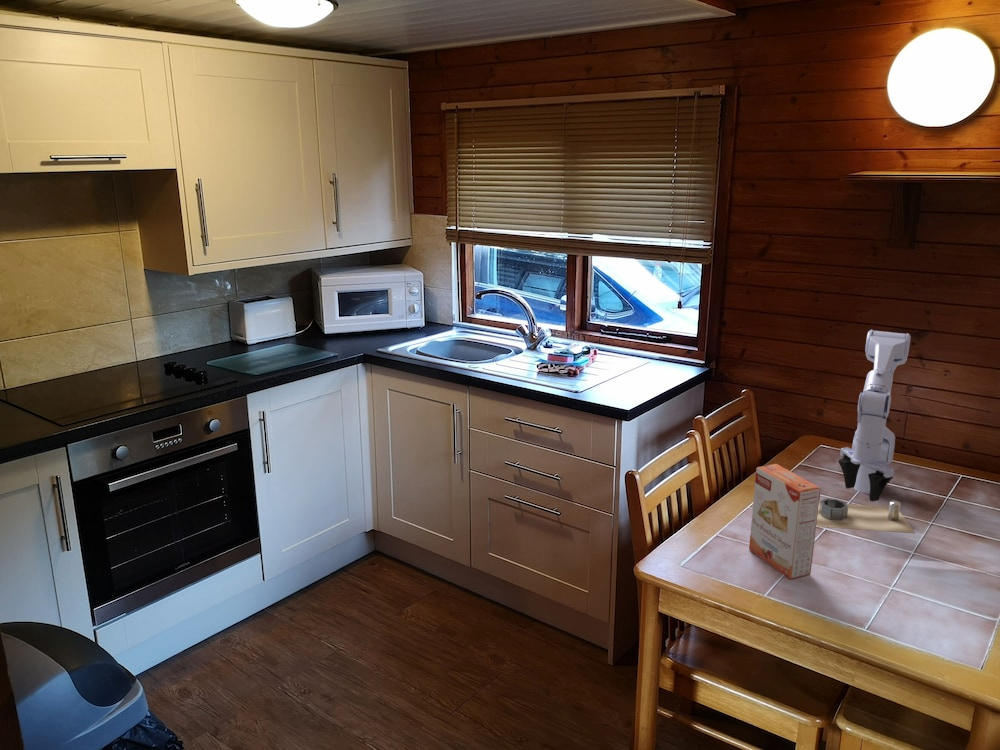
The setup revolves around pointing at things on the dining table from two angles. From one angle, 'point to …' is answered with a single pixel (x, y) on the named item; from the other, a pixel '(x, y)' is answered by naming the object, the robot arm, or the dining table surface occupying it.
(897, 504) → the steel post
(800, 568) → the cracker box
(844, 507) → the ring hub
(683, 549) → the dining table surface
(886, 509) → the board
